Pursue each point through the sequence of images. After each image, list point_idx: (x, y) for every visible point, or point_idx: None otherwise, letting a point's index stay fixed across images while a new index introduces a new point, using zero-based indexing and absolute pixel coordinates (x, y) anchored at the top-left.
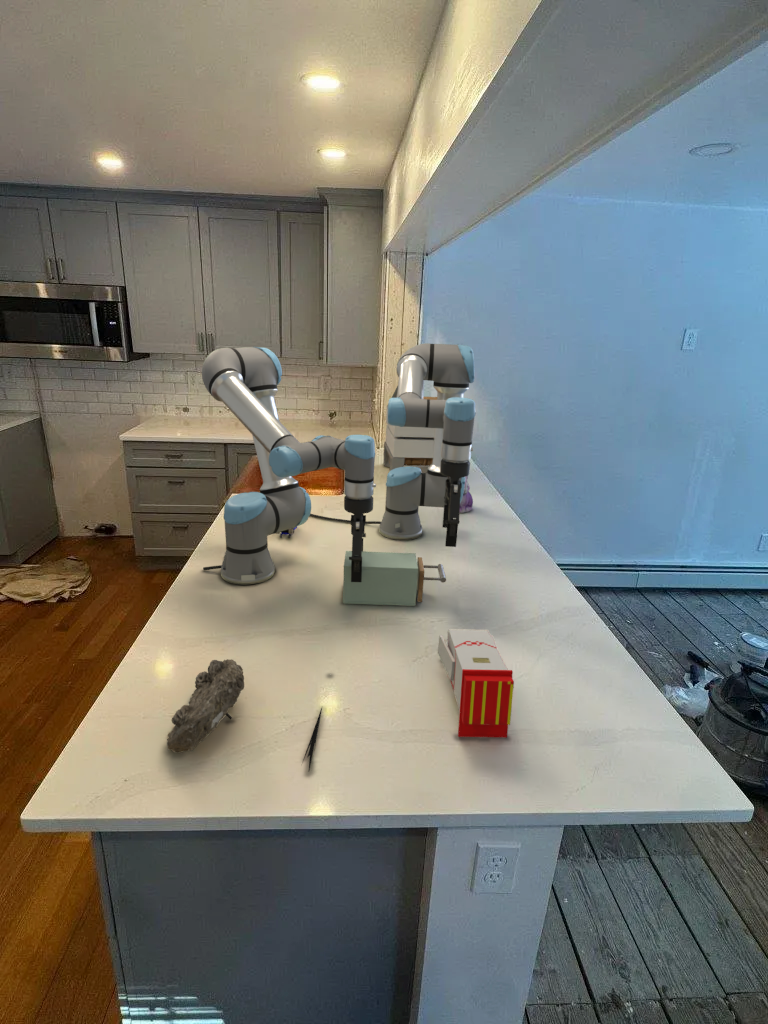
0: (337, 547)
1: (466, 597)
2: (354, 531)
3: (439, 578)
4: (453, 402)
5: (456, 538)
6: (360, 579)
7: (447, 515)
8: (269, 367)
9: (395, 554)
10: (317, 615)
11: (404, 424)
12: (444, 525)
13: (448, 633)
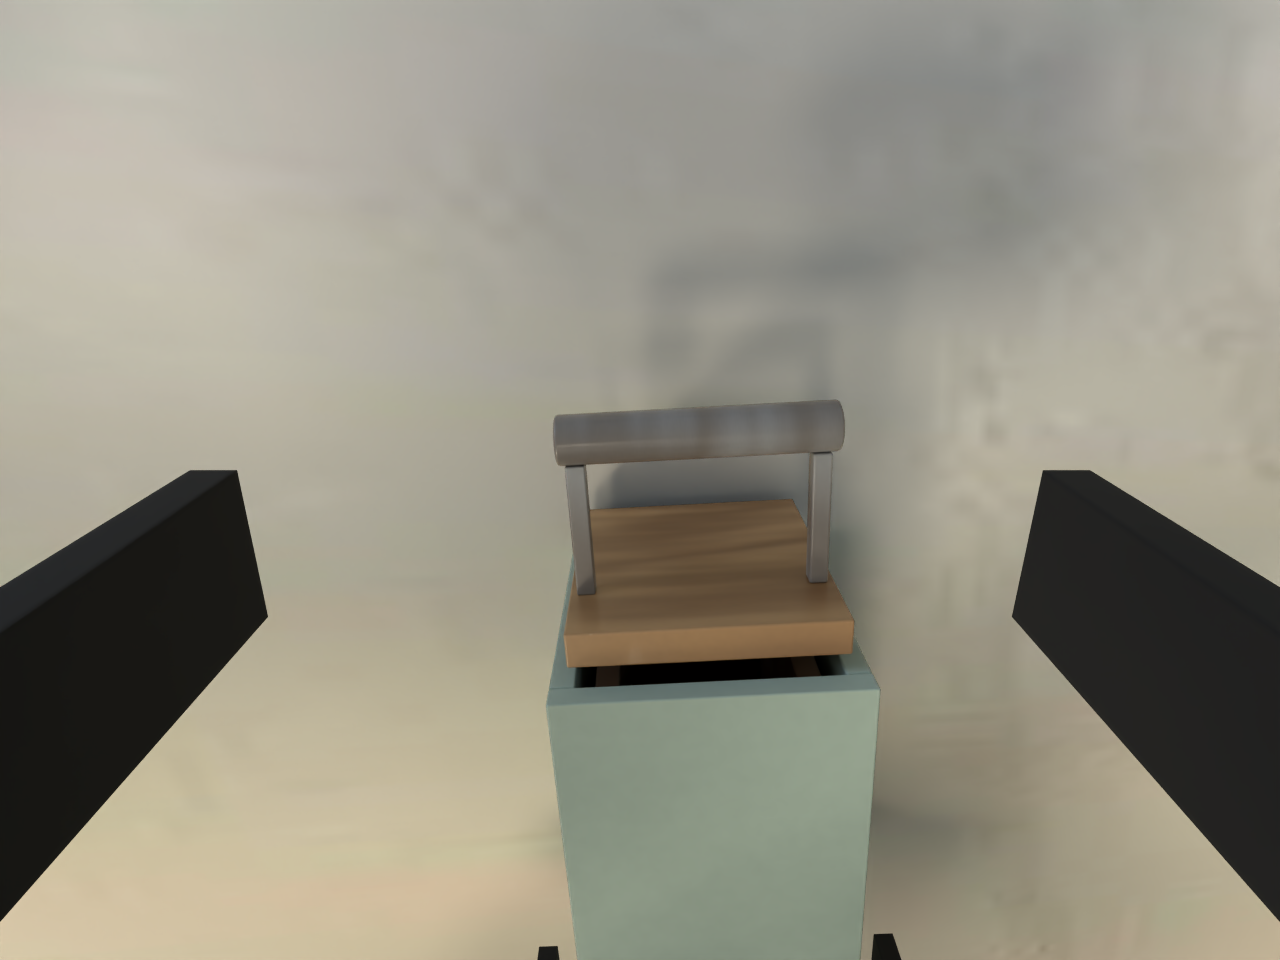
0: (116, 944)
1: (649, 167)
2: None
3: (828, 460)
4: None
5: (1192, 538)
6: (898, 957)
7: (114, 700)
8: None
9: (607, 848)
10: (907, 938)
11: None
12: (243, 610)
13: None
